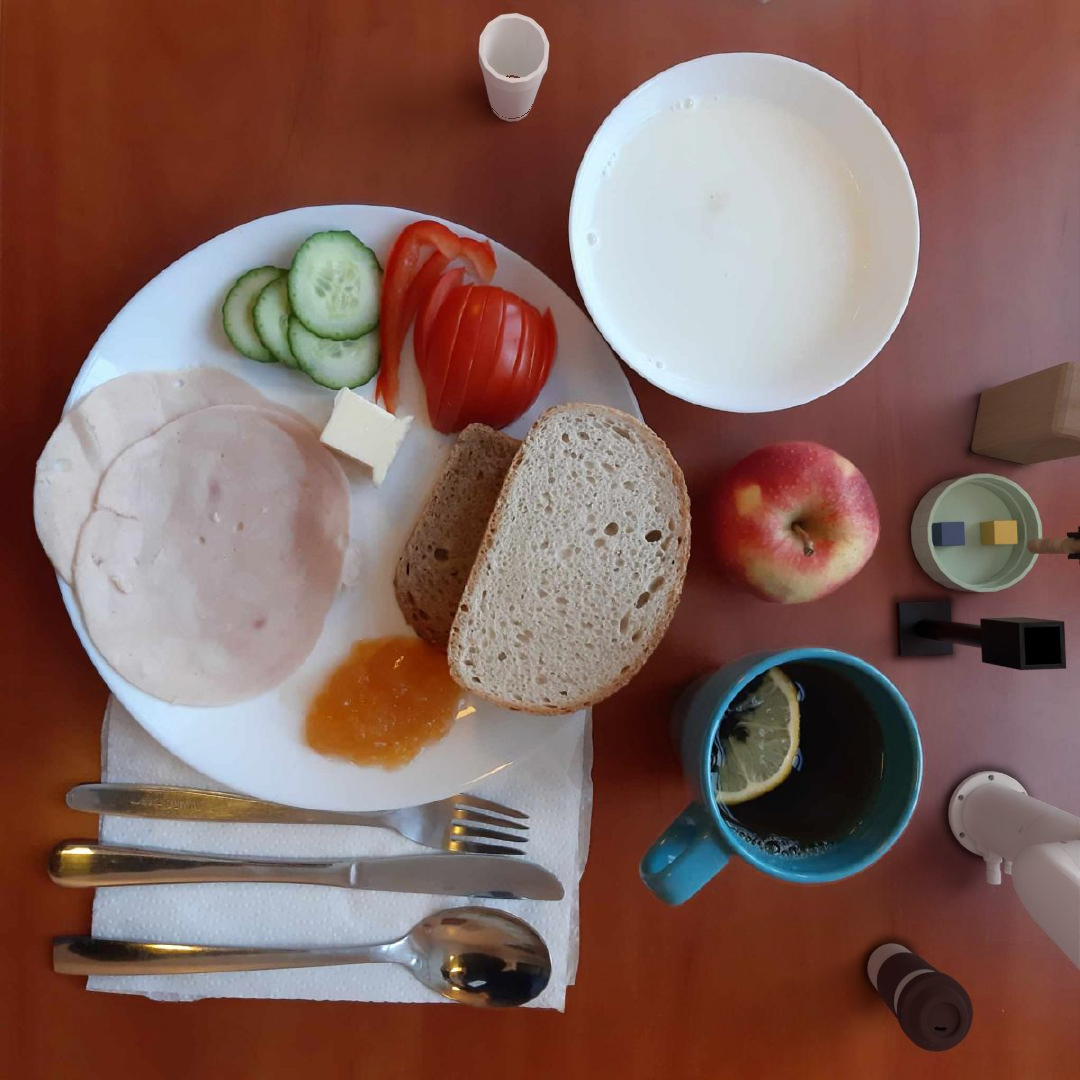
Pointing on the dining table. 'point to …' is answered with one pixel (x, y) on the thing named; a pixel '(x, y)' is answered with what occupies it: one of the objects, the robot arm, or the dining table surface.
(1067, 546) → the stick
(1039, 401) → the wooden block
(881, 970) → the coffee cup
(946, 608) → the holder
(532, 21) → the foam cup
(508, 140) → the dining table surface
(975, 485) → the bowl
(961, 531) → the navy block
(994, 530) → the mustard block
